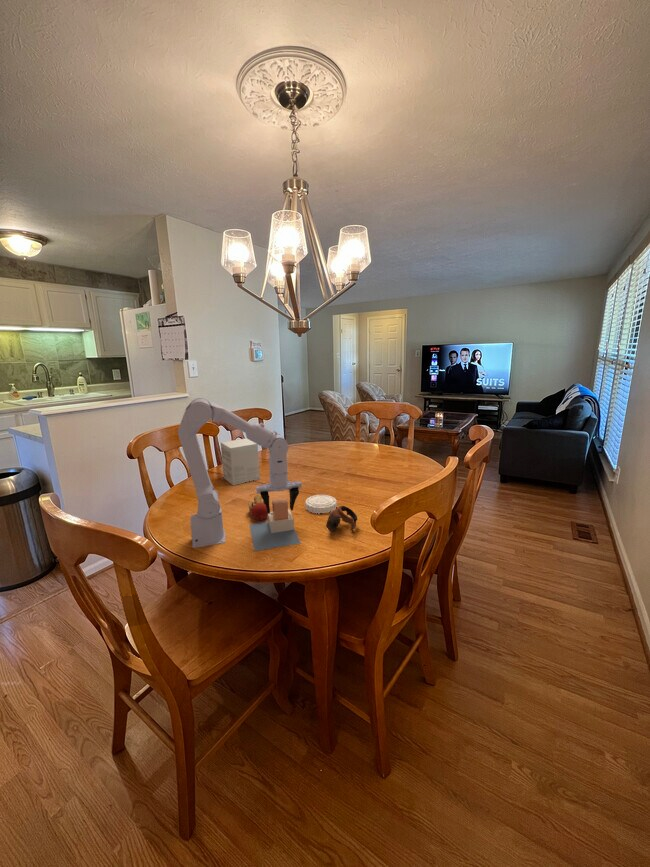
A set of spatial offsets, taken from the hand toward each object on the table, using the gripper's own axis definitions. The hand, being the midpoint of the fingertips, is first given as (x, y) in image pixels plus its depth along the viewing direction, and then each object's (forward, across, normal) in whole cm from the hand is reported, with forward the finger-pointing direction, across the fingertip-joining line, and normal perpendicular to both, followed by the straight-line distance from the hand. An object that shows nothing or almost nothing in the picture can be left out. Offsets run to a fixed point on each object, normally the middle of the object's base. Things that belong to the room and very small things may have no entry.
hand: (280, 510), depth 112 cm
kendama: (+6, -6, +14) cm, 17 cm away
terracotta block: (+3, 0, 0) cm, 3 cm away
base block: (+6, 0, 0) cm, 6 cm away
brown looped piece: (+6, +18, -7) cm, 21 cm away
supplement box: (+6, -10, +52) cm, 53 cm away
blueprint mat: (+6, -3, -4) cm, 8 cm away
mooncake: (+6, +17, +10) cm, 21 cm away
